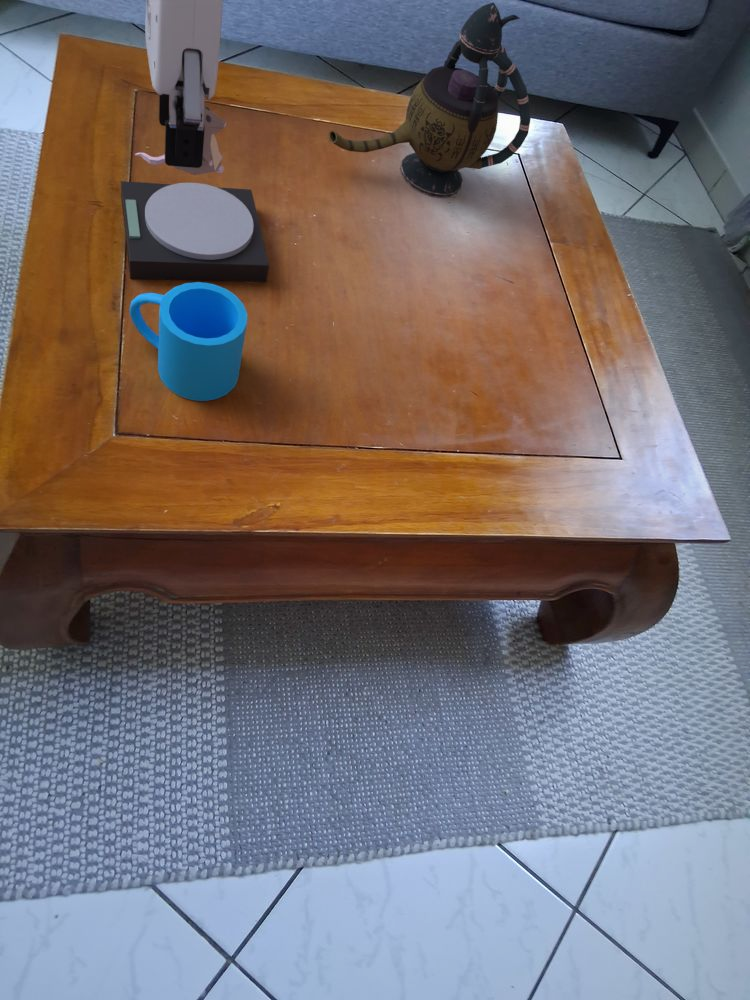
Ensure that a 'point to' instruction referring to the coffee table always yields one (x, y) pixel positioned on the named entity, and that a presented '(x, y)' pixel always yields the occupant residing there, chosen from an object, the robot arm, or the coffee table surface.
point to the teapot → (456, 112)
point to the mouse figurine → (210, 148)
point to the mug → (196, 338)
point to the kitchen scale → (192, 232)
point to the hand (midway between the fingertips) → (180, 142)
